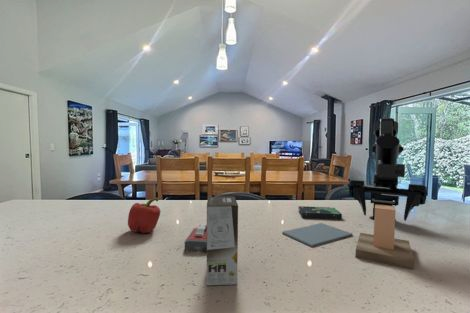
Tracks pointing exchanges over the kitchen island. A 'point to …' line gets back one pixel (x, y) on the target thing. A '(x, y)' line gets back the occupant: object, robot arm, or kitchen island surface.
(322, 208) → the disk drive
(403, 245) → the plate
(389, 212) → the terracotta block
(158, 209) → the vegetable
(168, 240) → the kitchen island surface
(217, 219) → the coffee box
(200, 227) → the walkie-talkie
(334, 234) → the slate grey mat
